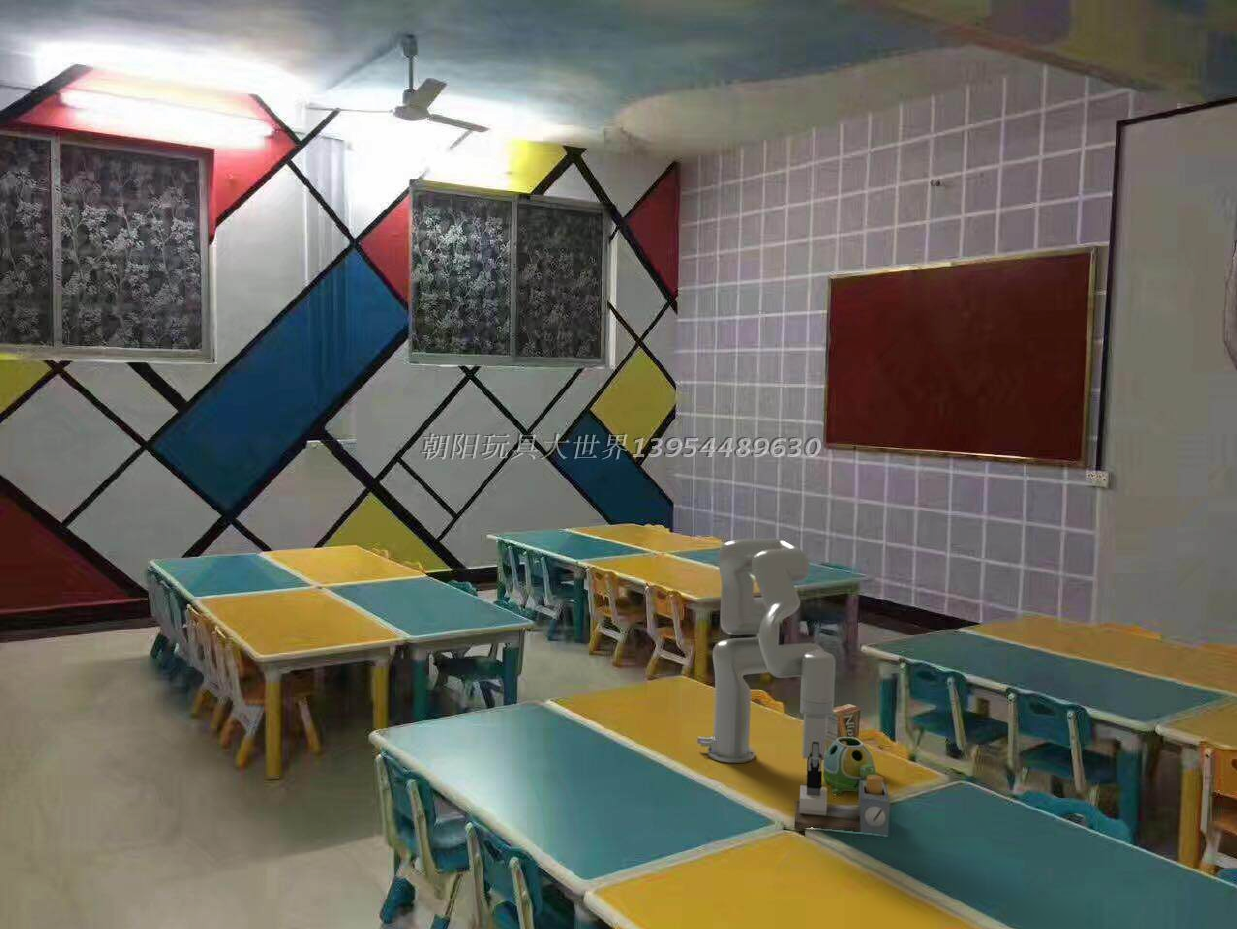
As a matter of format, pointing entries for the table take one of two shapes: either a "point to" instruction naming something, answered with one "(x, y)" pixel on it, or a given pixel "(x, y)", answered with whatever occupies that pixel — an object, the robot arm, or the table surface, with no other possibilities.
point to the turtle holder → (847, 765)
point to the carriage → (813, 800)
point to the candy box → (843, 724)
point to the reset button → (874, 784)
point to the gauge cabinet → (873, 810)
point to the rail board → (830, 818)
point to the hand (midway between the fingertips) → (813, 779)
